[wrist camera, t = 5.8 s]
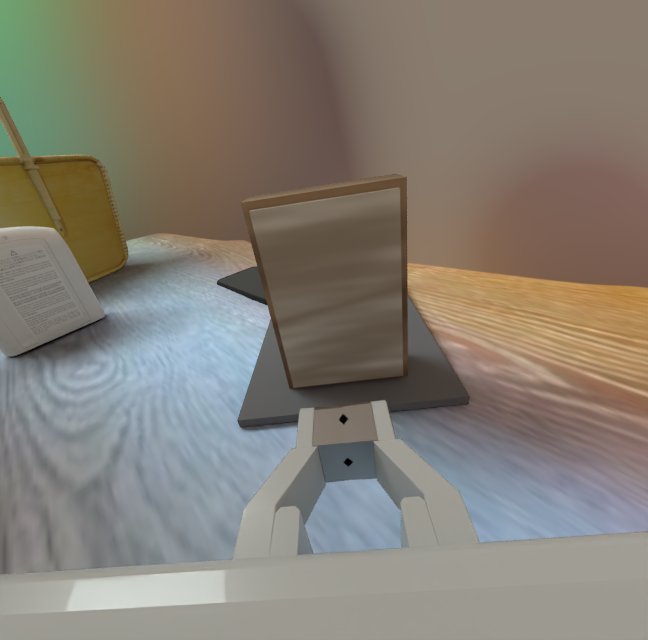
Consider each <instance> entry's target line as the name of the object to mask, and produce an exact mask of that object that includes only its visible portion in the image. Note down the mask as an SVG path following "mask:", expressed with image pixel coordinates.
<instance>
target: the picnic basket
mask: <svg viewBox="0 0 648 640" xmlns="http://www.w3.org/2000/svg"><path fill="white" fill-rule="evenodd" d="M0 120H1V122H2V124H3V126H4V128H5V129H6V131H7V133H8V135H9V137H10V139H11V141H12V143H13V145H14V147H15V149H16V151H17V153H18V155H19V157H1V158H0V229H1V228H9V227H25V226H33V227H48V228H54V229H55V230H56V231H57V232H58V233H59V234H60V236H61V237H62V238H63V240H64V241H65V242H66V244H67V245H68V247H69V249H70V251H71V252H72V254H73V256H74V258H75V260H76V261H77V263H78V265H79V267H80V269H81V270H82V272H83V274H84V276H85V278H86V280H87V281H88V283H90V282H93V281H95V280H97V279H100V278H102V277H104V276H107V275H109V274H111V273H113V272H116V271H118V270H119V269H121V268H122V267H123V266H124V265H125V263H126V262H127V259H128V248H127V244H126V240H125V237H124V233H123V229H122V225H121V222H120V218H119V214H118V210H117V207H116V203H115V199H114V195H113V192H112V188H111V184H110V180H109V177H108V173H107V171H106V169H105V166H104V165H103V164H102V163H101V162H100V161H99V160H97V159H96V158H94V157H92V156H88V155H59V156H32V157H31V156H30V155H29V153H28V151H27V149H26V147H25V145H24V142H23V140H22V138H21V136H20V134H19V132H18V130H17V128H16V126H15V124H14V122H13V120H12V118H11V116H10V114H9V112H8V110H7V108H6V106H5V104H4V102H3V100H2V99H1V97H0Z"/></svg>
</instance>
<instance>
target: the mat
mask: <svg viewBox="0 0 648 640" xmlns="http://www.w3.org/2000/svg"><path fill="white" fill-rule="evenodd" d="M407 301H408V376H401V377H392V378H383V379H374V380H365V381H356V382H347V383H338V384H329V385H320V386H310V387H301V388H292V389H289V385H288V381H287V377H286V373H285V370H284V366H283V362H282V358H281V354H280V351H279V347H278V343H277V339H276V335H275V331H274V328H273V324H272V320H270V323H269V326H268V329H267V332H266V335H265V338H264V341H263V344H262V347H261V350H260V353H259V356H258V359H257V363H256V366H255V369H254V372H253V375H252V378H251V381H250V384H249V387H248V390H247V393H246V396H245V399H244V402H243V405H242V408H241V411H240V414H239V417H238V420H237V421H238V423H239V426H240V427H247V426H257V425H266V424H276V423H286V422H296V421H298V420H299V412H300V409H301V408H314V407H323V406H337V405H345V404H354V403H363V402H372V401H381V400H385V401H386V402H387V406H388V410H389V412H394V411H403V410H413V409H423V408H433V407H443V406H452V405H462V404H468V403H469V395H468V393H467V392H466V390H465V388H464V387H463V385H462V383H461V382H460V380H459V379H458V377H457V375H456V374H455V372H454V370H453V369H452V367H451V365H450V364H449V362H448V360H447V359H446V357H445V355H444V354H443V352H442V351H441V349H440V347H439V346H438V344H437V342H436V341H435V339H434V337H433V336H432V334H431V332H430V331H429V329H428V328H427V326H426V324H425V323H424V321H423V319H422V318H421V316H420V314H419V313H418V311H417V309H416V308H415V306H414V304H413V303H412V301H411V300H410V298H409V296H408V295H407Z"/></svg>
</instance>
